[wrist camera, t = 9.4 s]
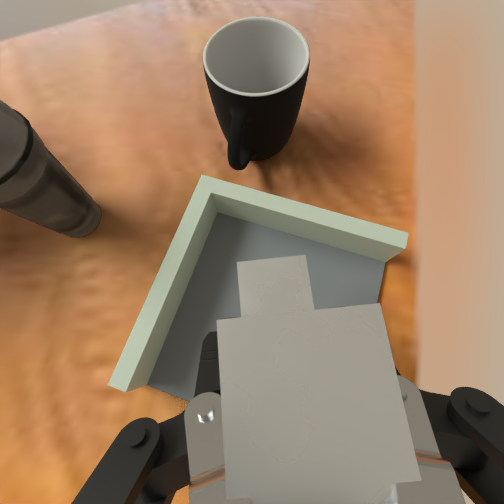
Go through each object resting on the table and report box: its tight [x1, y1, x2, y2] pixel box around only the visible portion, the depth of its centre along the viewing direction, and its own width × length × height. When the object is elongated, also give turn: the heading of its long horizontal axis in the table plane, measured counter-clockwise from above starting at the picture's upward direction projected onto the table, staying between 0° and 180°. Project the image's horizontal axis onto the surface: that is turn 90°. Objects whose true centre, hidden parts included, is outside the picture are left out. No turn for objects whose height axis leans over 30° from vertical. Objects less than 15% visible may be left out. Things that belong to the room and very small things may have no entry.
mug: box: [203, 17, 310, 170], centre depth 28 cm, size 12×9×10 cm
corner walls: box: [108, 175, 409, 392], centre depth 25 cm, size 19×19×4 cm
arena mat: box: [147, 212, 386, 402], centre depth 27 cm, size 19×19×1 cm
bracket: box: [217, 255, 422, 504], centre depth 12 cm, size 8×4×10 cm, turn 6°
